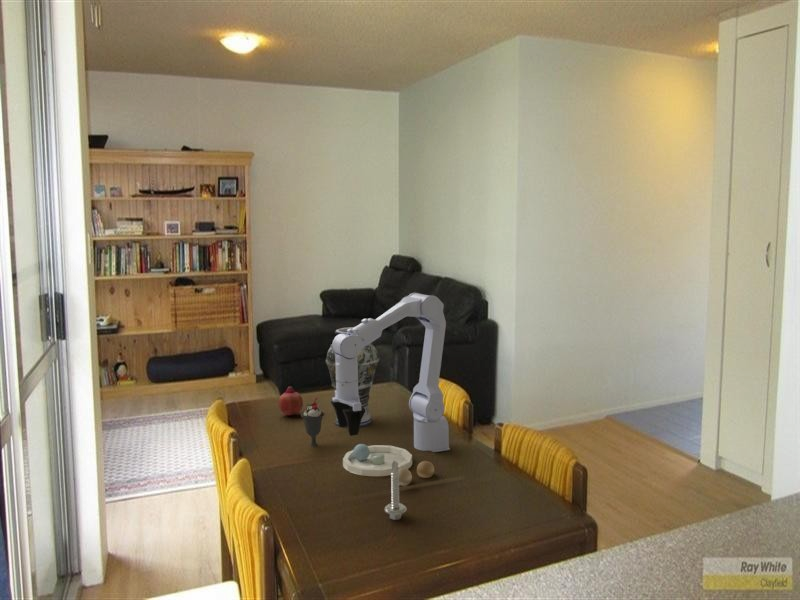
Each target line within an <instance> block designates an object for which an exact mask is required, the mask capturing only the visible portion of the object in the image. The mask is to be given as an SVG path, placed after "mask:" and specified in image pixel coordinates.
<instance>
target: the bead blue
mask: <svg viewBox="0 0 800 600" xmlns="http://www.w3.org/2000/svg"><path fill="white" fill-rule="evenodd" d="M367 446H368V445H366V444H364V443H359V444H357V445H355V447H354V448H353V449H352V450H353V455H354V457H355V458H356V459H357V460H359V461H363V460H366V459H367V458H368V457H369V454H370V451H369V448H368V447H367Z"/></svg>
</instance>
